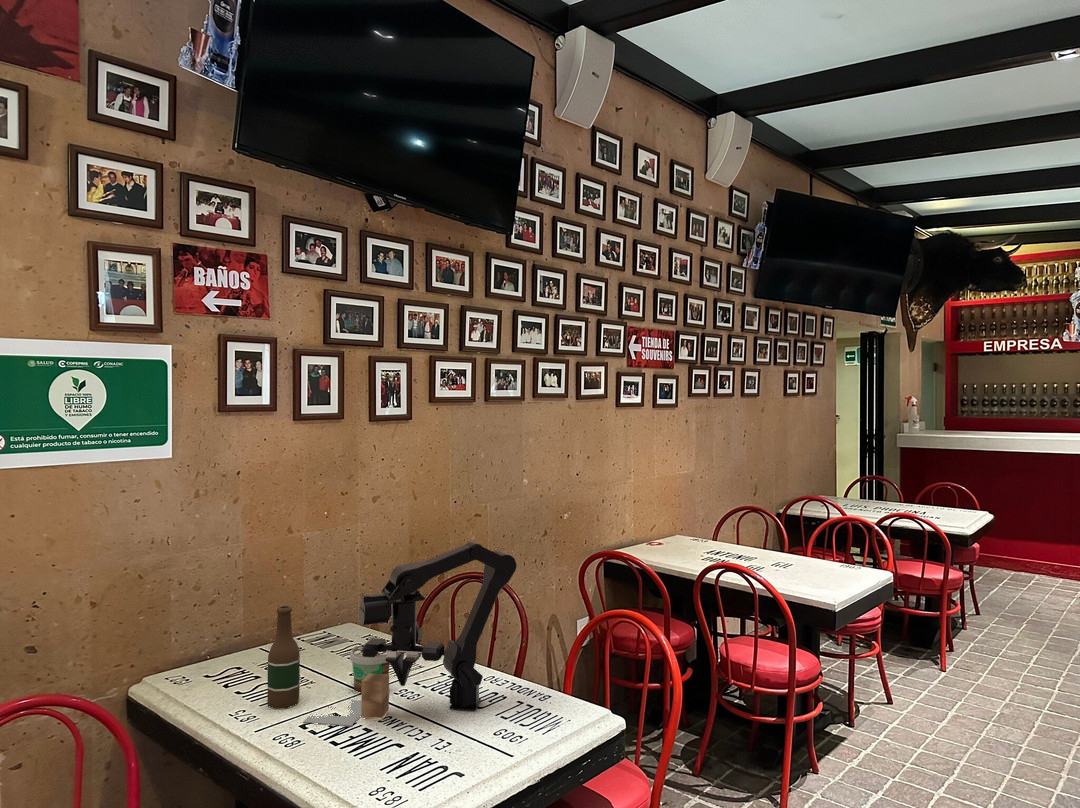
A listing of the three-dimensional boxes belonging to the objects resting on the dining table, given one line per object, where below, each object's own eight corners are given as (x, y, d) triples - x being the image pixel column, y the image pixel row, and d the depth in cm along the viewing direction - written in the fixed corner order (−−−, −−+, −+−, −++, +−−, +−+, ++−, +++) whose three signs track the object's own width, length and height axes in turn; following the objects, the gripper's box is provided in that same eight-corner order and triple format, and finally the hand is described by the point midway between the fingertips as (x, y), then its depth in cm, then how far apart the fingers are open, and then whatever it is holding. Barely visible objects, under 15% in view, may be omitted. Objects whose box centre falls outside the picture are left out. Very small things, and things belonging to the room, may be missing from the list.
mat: (373, 702, 183) (373, 701, 183) (351, 726, 169) (351, 725, 169) (328, 699, 185) (328, 698, 185) (302, 723, 171) (302, 721, 171)
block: (388, 711, 178) (389, 674, 178) (381, 720, 173) (381, 682, 173) (369, 710, 179) (369, 673, 179) (361, 718, 174) (361, 681, 174)
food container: (339, 690, 191) (339, 651, 191) (355, 682, 196) (355, 645, 196) (376, 699, 185) (376, 659, 185) (391, 691, 191) (392, 652, 191)
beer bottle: (289, 711, 178) (290, 612, 178) (260, 708, 179) (261, 610, 179) (305, 698, 185) (306, 603, 185) (278, 695, 187) (278, 601, 187)
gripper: (450, 612, 181) (449, 675, 181) (378, 608, 184) (377, 671, 184) (438, 625, 170) (437, 692, 170) (361, 621, 173) (360, 687, 173)
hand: (403, 685), depth 175 cm, fingers closed
